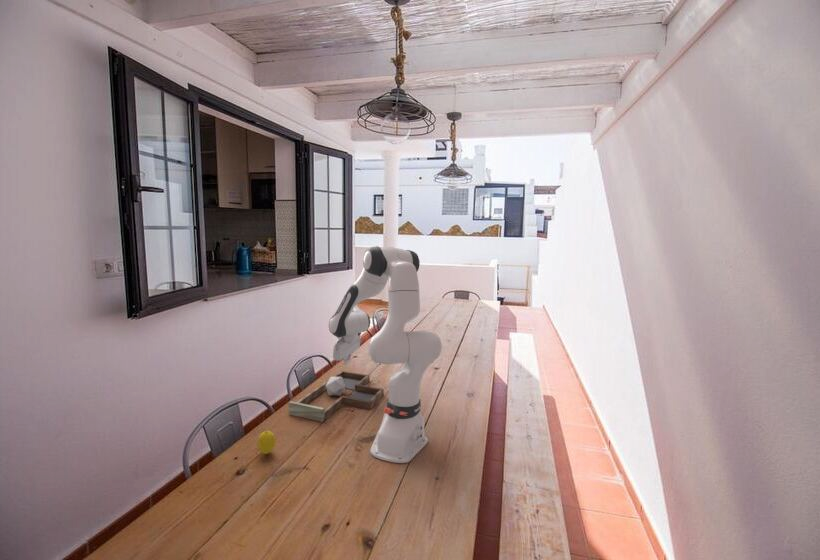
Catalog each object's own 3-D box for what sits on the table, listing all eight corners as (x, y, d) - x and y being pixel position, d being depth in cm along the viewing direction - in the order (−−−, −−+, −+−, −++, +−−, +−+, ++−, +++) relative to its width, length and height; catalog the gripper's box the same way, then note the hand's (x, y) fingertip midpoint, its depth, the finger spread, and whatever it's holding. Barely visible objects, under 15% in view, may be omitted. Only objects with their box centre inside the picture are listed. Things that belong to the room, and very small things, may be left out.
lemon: (265, 460, 120) (264, 437, 119) (254, 455, 123) (253, 432, 122) (279, 452, 125) (279, 429, 124) (268, 447, 128) (267, 424, 127)
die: (335, 401, 164) (348, 382, 166) (319, 390, 165) (332, 371, 167) (338, 400, 172) (351, 381, 174) (323, 389, 173) (335, 371, 175)
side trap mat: (368, 406, 159) (368, 406, 159) (343, 402, 162) (343, 401, 162) (378, 396, 169) (378, 395, 169) (355, 391, 173) (355, 391, 173)
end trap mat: (354, 390, 174) (354, 389, 174) (331, 386, 178) (331, 385, 178) (364, 381, 184) (364, 381, 184) (342, 378, 188) (342, 377, 188)
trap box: (351, 428, 142) (352, 415, 141) (288, 414, 150) (288, 402, 150) (393, 385, 181) (393, 375, 181) (341, 376, 190) (341, 366, 190)
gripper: (342, 342, 165) (341, 372, 167) (362, 330, 184) (362, 357, 187) (329, 340, 167) (329, 370, 169) (351, 328, 186) (350, 355, 189)
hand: (346, 363), depth 178 cm, fingers closed
